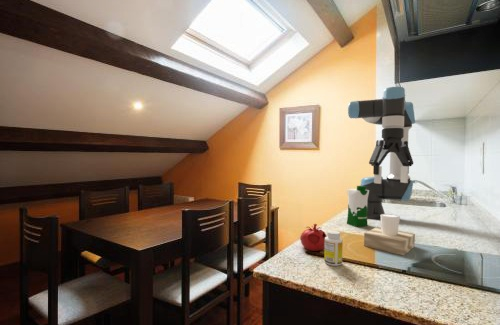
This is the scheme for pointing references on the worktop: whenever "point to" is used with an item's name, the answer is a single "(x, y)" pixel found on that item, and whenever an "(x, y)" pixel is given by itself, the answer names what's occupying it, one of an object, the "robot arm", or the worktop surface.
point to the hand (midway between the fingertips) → (391, 183)
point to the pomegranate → (313, 239)
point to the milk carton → (357, 206)
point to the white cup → (389, 224)
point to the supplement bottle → (333, 248)
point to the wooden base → (389, 241)
